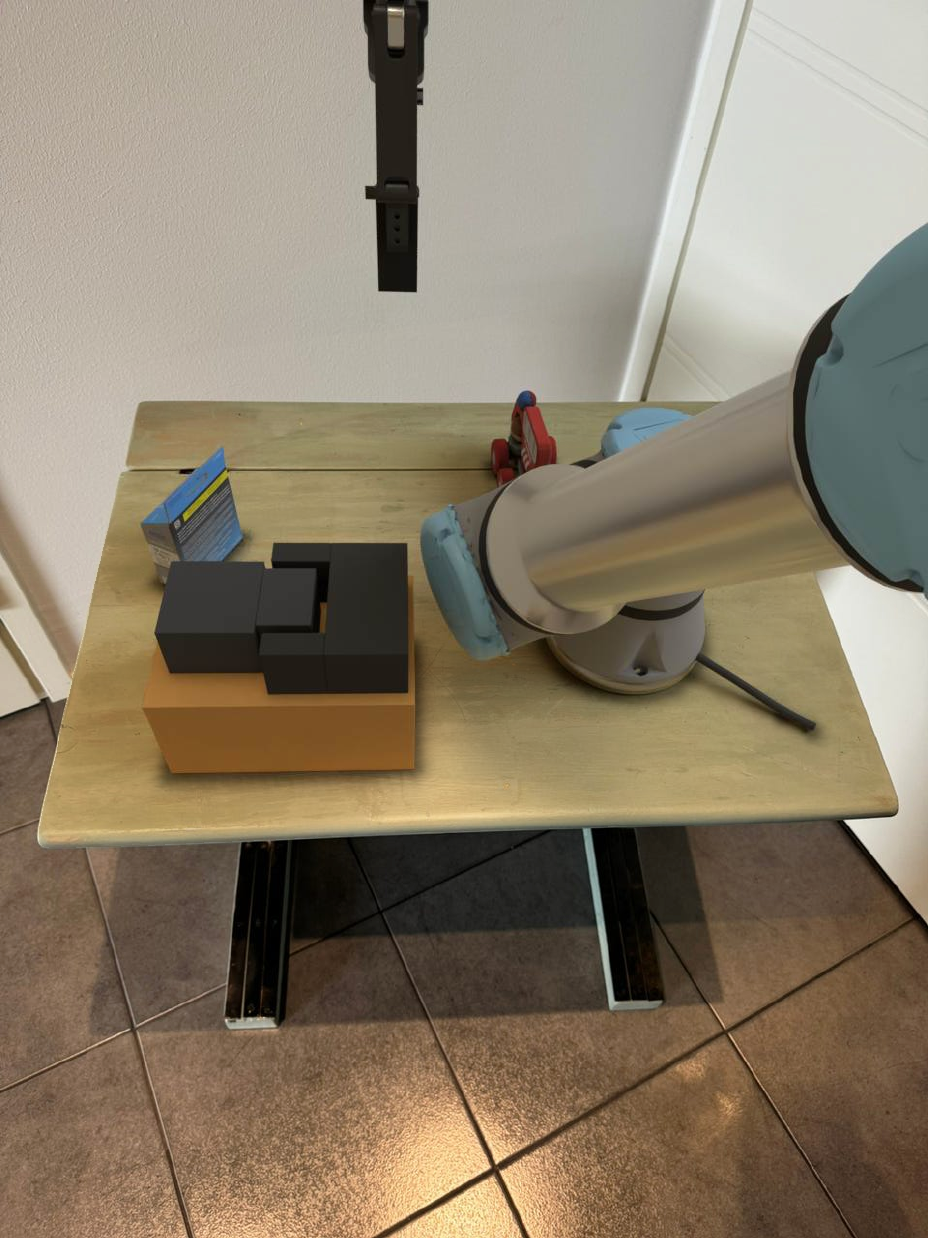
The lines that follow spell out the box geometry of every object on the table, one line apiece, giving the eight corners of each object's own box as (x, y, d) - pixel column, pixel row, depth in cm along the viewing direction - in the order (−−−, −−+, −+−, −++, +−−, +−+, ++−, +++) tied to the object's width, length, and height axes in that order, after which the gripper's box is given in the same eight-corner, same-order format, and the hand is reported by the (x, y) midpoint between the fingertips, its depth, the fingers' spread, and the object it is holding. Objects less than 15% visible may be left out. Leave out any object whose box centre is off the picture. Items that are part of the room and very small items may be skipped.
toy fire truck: (544, 446, 98) (557, 370, 90) (565, 520, 90) (581, 444, 82) (486, 448, 97) (493, 371, 89) (502, 523, 89) (512, 447, 81)
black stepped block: (321, 602, 68) (316, 561, 64) (316, 672, 64) (310, 632, 60) (184, 602, 67) (171, 560, 64) (169, 673, 63) (153, 633, 59)
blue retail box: (212, 526, 87) (189, 431, 77) (244, 538, 86) (224, 444, 76) (159, 583, 82) (126, 488, 72) (192, 597, 81) (163, 503, 71)
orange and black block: (412, 646, 78) (413, 533, 67) (413, 769, 70) (415, 665, 59) (195, 647, 77) (158, 532, 65) (171, 773, 69) (123, 667, 57)
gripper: (337, -180, 54) (353, 166, 70) (311, -83, 38) (339, 333, 54) (453, -173, 54) (442, 169, 71) (475, -74, 39) (454, 335, 55)
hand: (397, 241), depth 63 cm, fingers open, 13 cm apart
